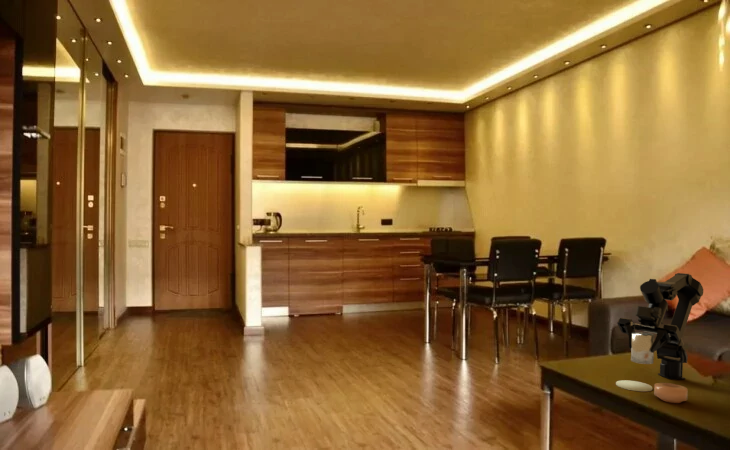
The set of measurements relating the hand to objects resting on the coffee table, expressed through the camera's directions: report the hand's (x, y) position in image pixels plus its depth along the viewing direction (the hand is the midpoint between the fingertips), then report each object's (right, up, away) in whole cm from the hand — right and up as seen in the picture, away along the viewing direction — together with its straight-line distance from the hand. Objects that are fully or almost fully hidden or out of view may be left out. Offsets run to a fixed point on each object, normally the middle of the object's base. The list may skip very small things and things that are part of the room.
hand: (640, 349), depth 181 cm
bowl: (+5, -14, -9) cm, 17 cm away
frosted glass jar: (+1, -4, +1) cm, 4 cm away
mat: (0, -13, +5) cm, 14 cm away
